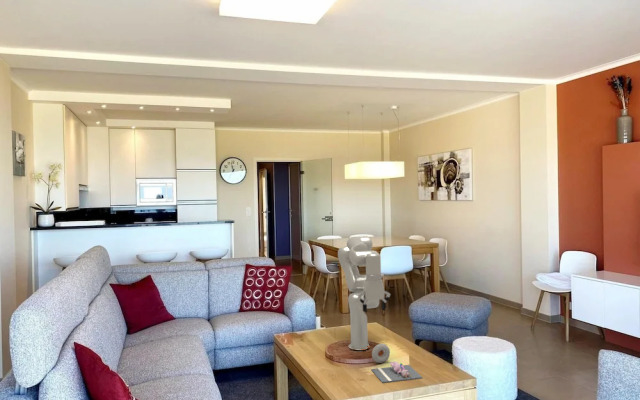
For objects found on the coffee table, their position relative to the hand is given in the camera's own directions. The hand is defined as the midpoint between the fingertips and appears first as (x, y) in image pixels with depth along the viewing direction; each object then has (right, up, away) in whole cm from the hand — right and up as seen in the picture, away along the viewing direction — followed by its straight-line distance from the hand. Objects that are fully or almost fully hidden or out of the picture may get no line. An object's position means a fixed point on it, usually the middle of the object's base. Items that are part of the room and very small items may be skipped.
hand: (374, 310), depth 243 cm
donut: (+4, -28, +5) cm, 29 cm away
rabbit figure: (+11, -28, -11) cm, 32 cm away
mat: (+9, -28, -10) cm, 32 cm away
